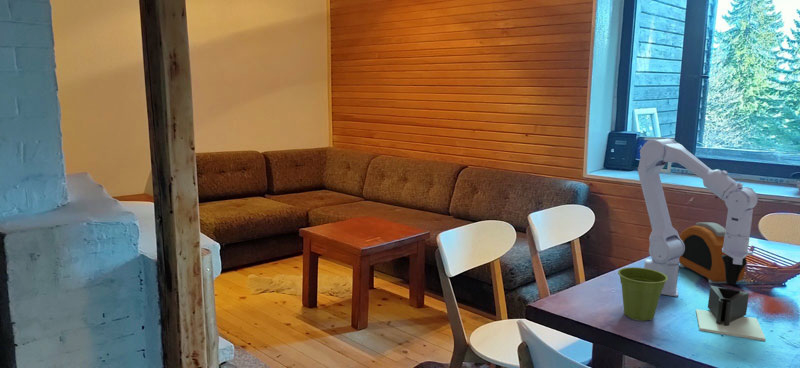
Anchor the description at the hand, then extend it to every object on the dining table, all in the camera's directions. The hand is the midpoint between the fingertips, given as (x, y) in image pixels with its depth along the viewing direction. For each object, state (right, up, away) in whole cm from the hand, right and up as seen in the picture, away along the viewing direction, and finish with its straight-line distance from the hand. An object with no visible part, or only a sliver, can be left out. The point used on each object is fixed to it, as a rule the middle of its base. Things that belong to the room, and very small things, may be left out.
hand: (730, 283), depth 160 cm
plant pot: (-26, -8, -5) cm, 28 cm away
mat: (-6, -9, -9) cm, 14 cm away
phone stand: (-1, -4, -1) cm, 4 cm away
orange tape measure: (+9, -3, +31) cm, 32 cm away
